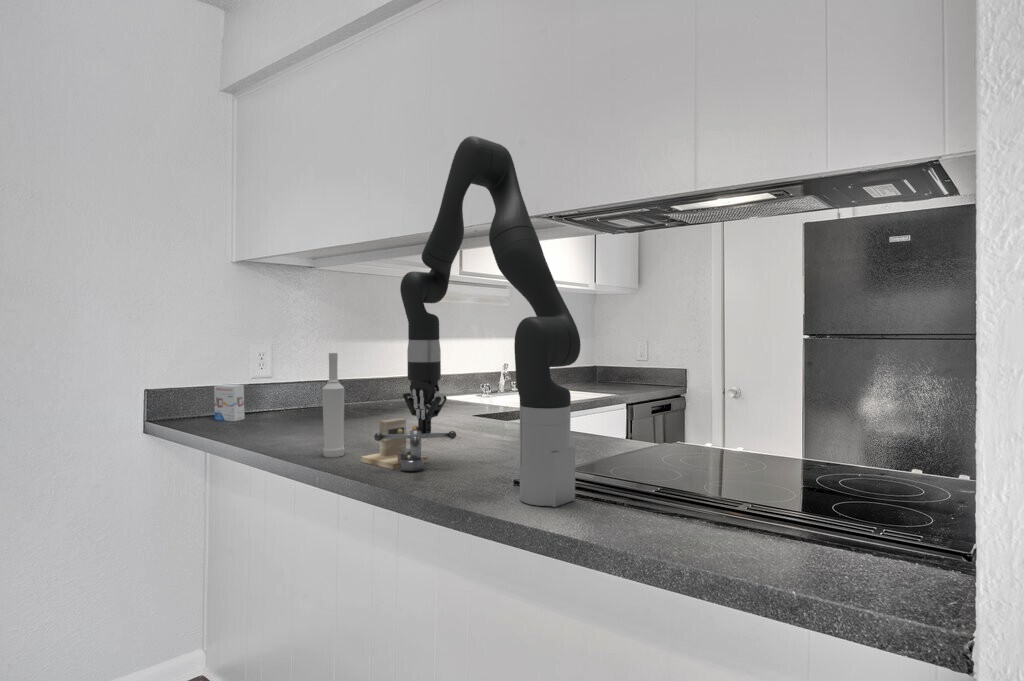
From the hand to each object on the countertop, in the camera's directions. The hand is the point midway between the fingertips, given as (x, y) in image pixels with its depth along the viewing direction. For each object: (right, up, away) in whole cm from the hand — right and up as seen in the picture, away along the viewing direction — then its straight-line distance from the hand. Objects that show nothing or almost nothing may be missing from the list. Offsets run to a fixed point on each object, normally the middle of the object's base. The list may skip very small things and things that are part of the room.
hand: (424, 435), depth 145 cm
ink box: (-75, -5, +67) cm, 101 cm away
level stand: (-6, -7, +1) cm, 9 cm away
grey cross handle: (-1, -7, -6) cm, 9 cm away
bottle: (-23, -7, +9) cm, 26 cm away
